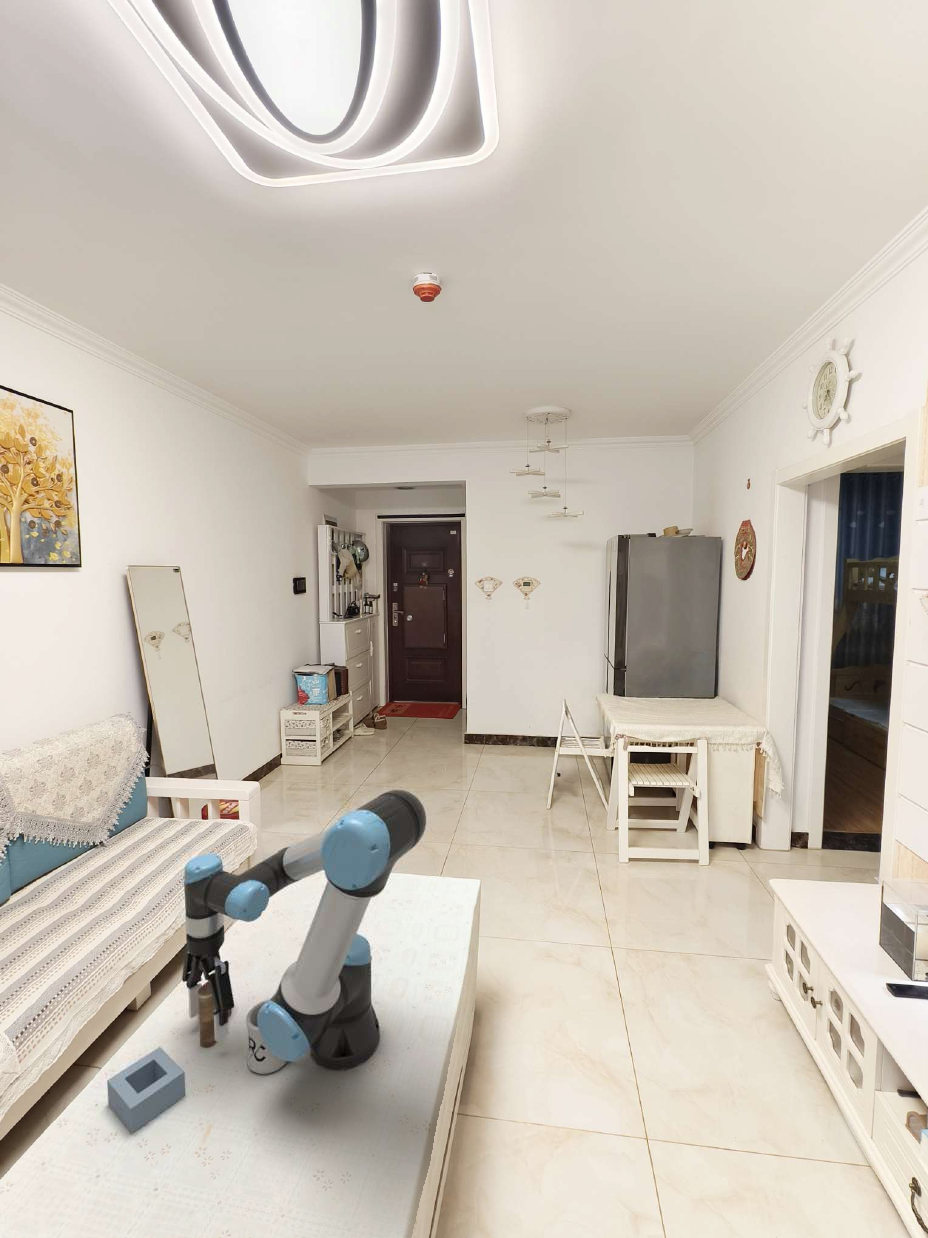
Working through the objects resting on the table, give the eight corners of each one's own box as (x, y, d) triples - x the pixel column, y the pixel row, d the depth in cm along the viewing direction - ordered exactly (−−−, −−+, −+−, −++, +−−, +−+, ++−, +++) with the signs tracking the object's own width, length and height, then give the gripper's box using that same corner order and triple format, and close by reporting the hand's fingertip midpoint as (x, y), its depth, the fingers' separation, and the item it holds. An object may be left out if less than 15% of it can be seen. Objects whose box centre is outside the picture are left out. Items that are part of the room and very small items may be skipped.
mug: (237, 1071, 120) (236, 1026, 120) (262, 1037, 129) (261, 995, 128) (291, 1084, 117) (290, 1037, 117) (313, 1048, 126) (312, 1005, 125)
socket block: (185, 1095, 115) (184, 1072, 114) (131, 1134, 107) (130, 1109, 106) (160, 1069, 121) (159, 1047, 120) (108, 1104, 113) (107, 1080, 112)
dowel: (221, 1039, 128) (219, 988, 127) (205, 1050, 125) (203, 998, 124) (212, 1031, 131) (210, 981, 130) (196, 1042, 128) (194, 990, 127)
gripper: (250, 939, 122) (253, 1039, 124) (195, 903, 136) (198, 993, 137) (217, 958, 116) (220, 1062, 118) (162, 918, 130) (166, 1012, 131)
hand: (208, 1025), depth 128 cm, fingers open, 10 cm apart
